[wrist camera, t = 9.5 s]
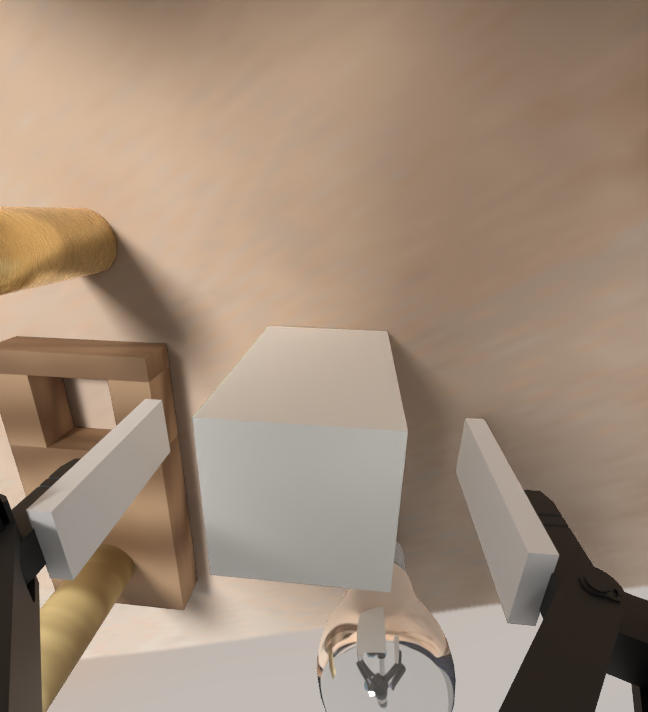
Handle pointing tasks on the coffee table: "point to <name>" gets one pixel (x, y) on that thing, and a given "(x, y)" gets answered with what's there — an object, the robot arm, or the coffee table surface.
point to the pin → (52, 246)
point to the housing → (305, 460)
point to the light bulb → (385, 653)
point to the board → (65, 442)
